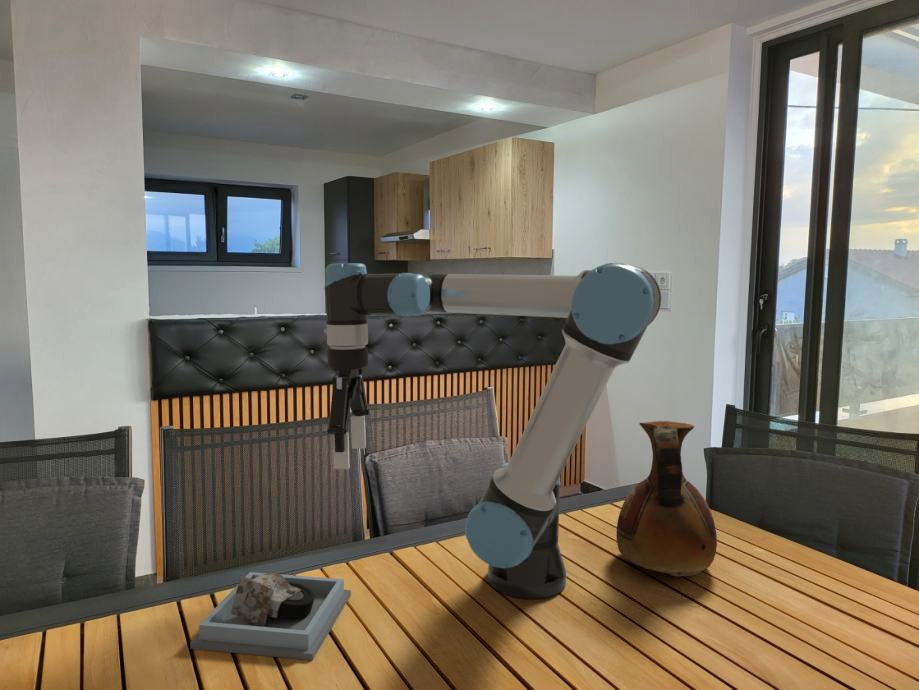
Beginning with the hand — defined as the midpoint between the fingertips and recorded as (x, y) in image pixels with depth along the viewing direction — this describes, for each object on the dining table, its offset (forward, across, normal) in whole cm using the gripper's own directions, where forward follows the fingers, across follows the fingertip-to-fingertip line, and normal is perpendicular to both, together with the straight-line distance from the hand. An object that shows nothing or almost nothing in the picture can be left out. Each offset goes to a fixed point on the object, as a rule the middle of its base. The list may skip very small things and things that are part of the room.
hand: (350, 458), depth 122 cm
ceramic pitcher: (+26, -12, +62) cm, 68 cm away
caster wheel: (+23, +15, -10) cm, 29 cm away
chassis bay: (+24, +16, -10) cm, 30 cm away
